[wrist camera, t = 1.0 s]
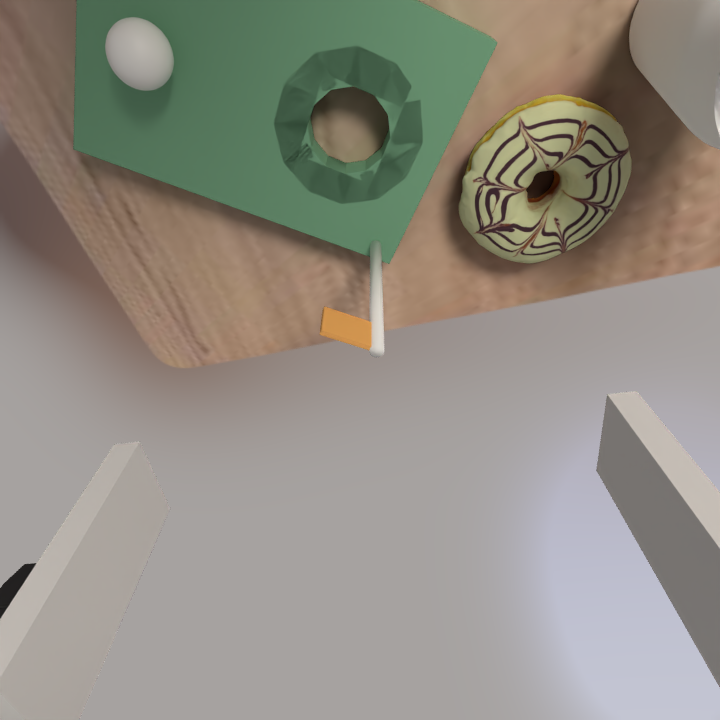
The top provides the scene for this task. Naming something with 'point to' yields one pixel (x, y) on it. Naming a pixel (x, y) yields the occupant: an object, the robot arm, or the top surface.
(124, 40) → the ball
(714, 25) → the cup
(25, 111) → the top surface
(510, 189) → the decorated donut
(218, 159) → the green
